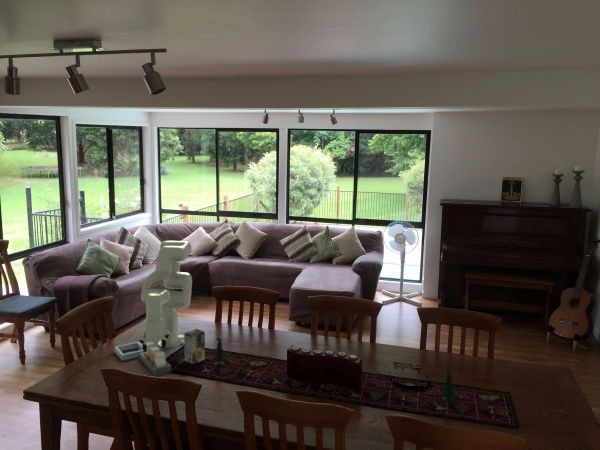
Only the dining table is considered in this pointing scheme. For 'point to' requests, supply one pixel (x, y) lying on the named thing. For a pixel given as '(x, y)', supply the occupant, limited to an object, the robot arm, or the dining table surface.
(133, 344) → the slate tray
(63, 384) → the dining table surface
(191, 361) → the coffee box
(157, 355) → the front fuse
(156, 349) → the orange fuse
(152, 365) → the gray rectangular tray
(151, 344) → the back fuse
